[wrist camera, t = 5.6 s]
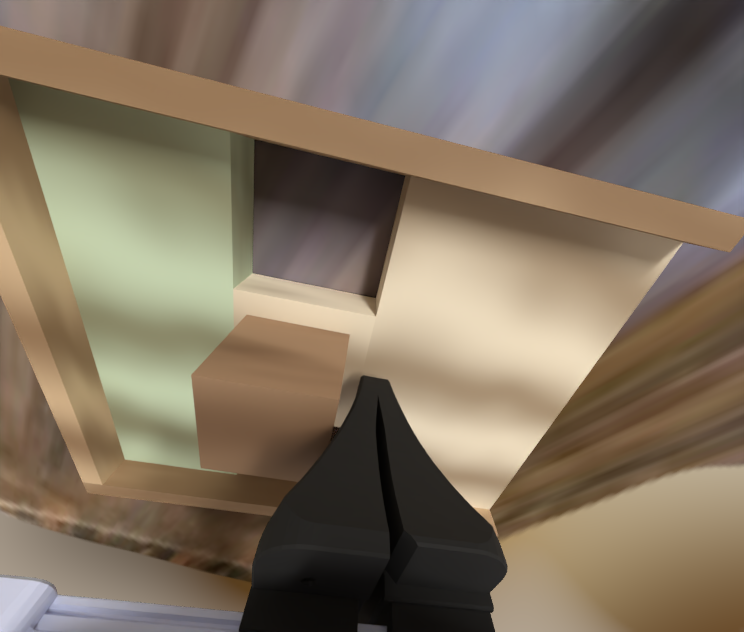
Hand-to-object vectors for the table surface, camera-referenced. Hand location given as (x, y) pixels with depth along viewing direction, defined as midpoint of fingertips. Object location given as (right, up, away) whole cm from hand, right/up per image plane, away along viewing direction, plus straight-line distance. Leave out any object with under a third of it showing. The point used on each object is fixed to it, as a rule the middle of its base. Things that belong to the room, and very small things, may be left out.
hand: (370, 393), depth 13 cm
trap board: (-2, +2, +2) cm, 4 cm away
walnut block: (-4, +1, 0) cm, 4 cm away
